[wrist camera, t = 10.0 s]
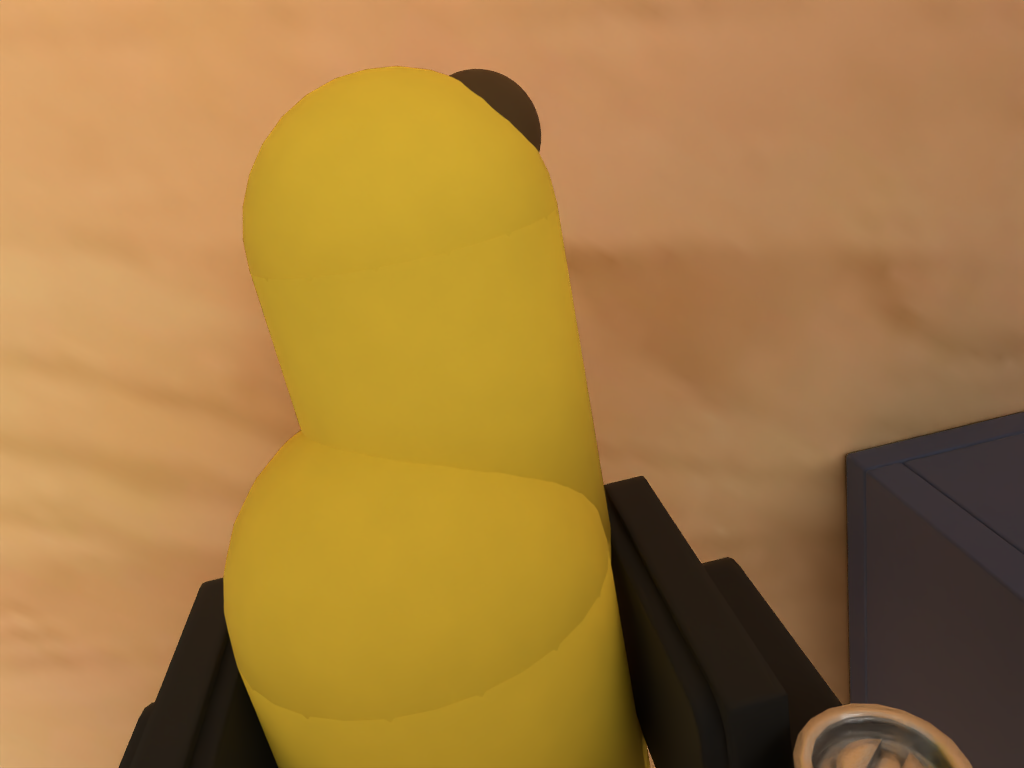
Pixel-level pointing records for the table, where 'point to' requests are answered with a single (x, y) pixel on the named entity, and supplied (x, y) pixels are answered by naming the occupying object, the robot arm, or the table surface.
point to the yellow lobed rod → (424, 446)
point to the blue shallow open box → (942, 583)
